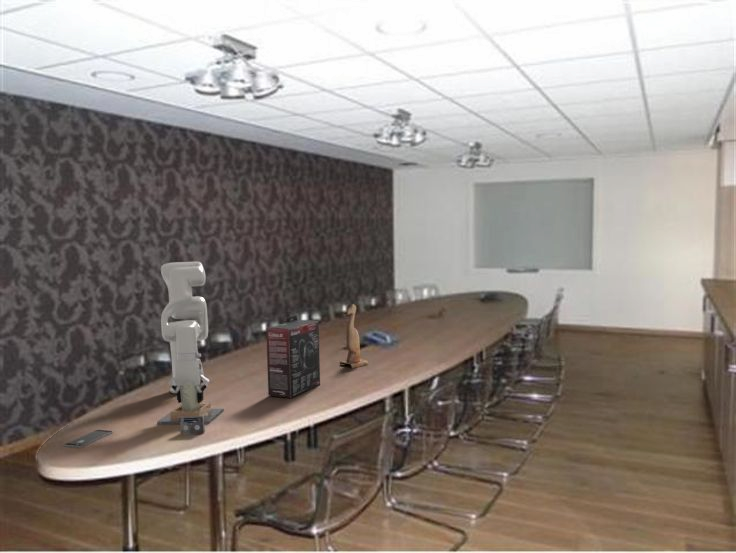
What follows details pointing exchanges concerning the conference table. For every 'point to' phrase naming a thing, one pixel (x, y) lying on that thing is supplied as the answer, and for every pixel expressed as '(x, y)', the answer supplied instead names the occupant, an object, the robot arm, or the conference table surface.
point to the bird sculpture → (353, 342)
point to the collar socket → (191, 414)
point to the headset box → (293, 357)
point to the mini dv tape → (192, 425)
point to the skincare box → (189, 397)
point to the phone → (88, 438)
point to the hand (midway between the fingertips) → (190, 401)
